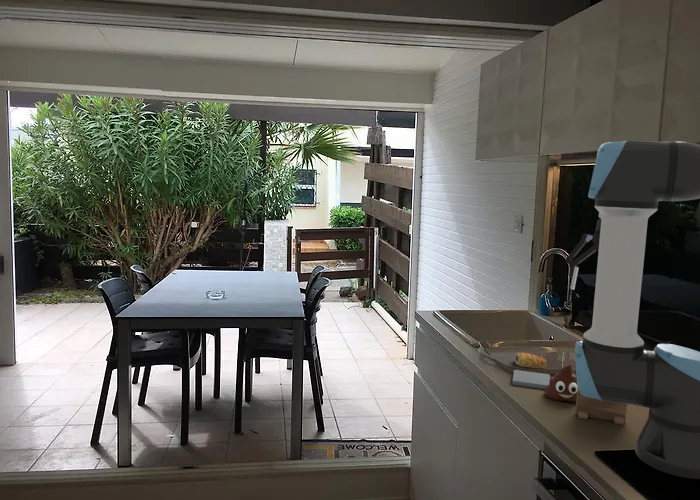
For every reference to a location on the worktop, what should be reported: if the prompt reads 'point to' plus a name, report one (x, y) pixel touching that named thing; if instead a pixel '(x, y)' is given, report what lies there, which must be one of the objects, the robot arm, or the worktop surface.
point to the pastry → (530, 360)
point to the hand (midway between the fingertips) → (597, 294)
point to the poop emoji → (563, 385)
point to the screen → (600, 409)
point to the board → (530, 379)
